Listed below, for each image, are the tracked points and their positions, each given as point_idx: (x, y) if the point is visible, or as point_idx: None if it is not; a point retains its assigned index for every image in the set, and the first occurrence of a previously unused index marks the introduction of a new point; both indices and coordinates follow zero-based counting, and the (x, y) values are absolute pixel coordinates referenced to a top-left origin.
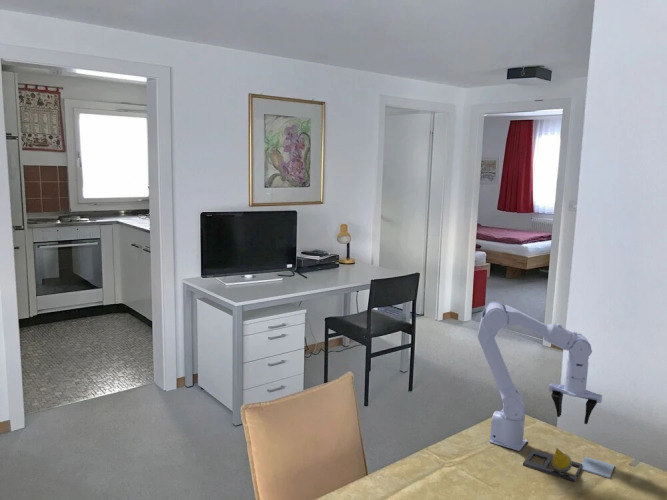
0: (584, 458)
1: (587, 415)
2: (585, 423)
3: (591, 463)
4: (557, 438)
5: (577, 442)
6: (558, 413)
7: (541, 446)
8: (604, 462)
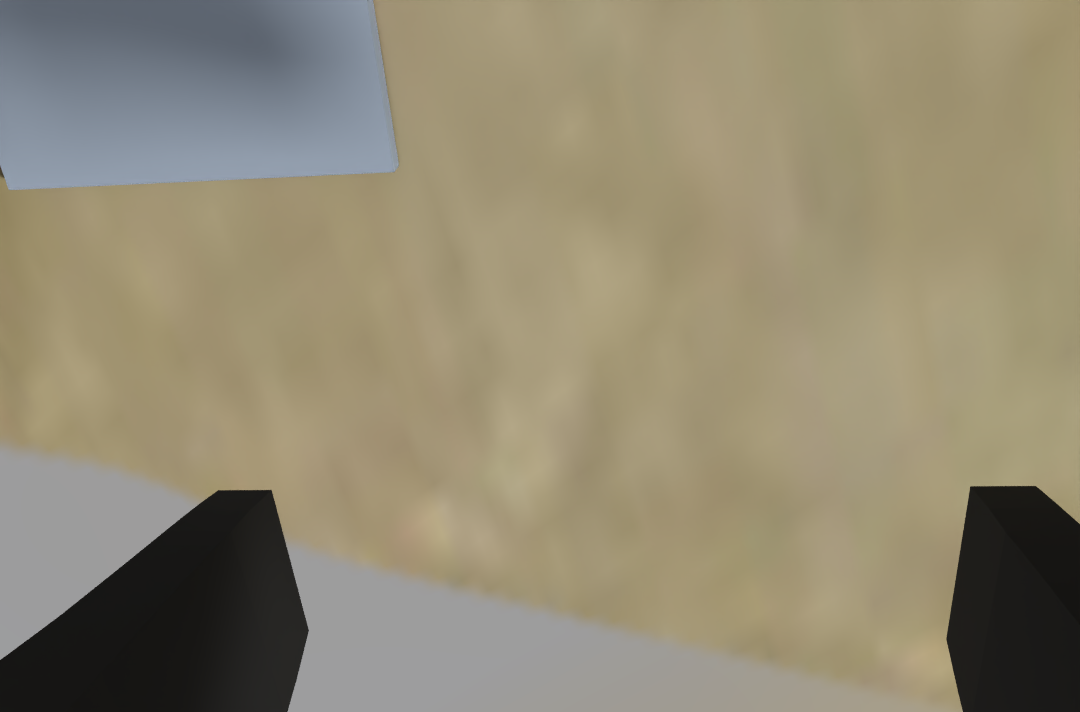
0: (374, 102)
1: (36, 660)
2: (236, 495)
3: (238, 10)
4: (872, 485)
5: (615, 525)
6: (1050, 542)
7: (1068, 90)
8: (131, 177)
